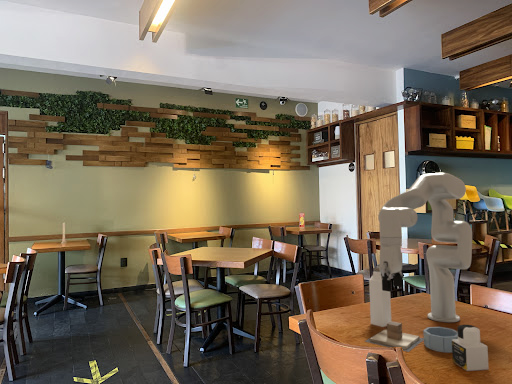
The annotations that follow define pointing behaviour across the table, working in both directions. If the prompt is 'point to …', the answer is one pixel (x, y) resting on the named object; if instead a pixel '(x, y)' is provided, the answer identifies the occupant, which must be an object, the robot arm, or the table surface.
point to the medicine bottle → (469, 349)
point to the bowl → (439, 338)
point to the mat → (392, 346)
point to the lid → (395, 336)
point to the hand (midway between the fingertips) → (392, 288)
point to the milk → (379, 301)
